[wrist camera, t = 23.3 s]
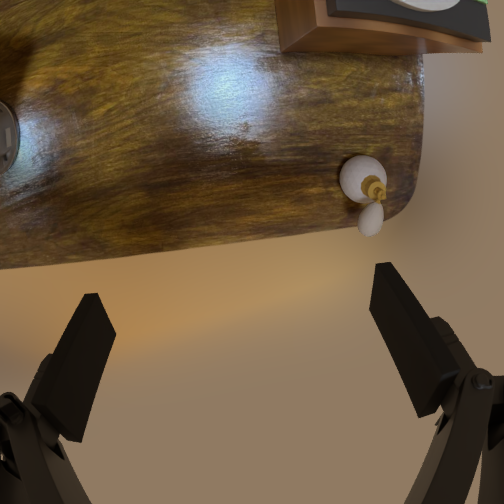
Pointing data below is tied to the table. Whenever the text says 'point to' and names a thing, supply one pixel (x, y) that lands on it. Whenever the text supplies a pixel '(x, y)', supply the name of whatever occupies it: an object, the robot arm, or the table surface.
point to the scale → (422, 15)
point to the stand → (357, 33)
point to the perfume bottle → (365, 190)
